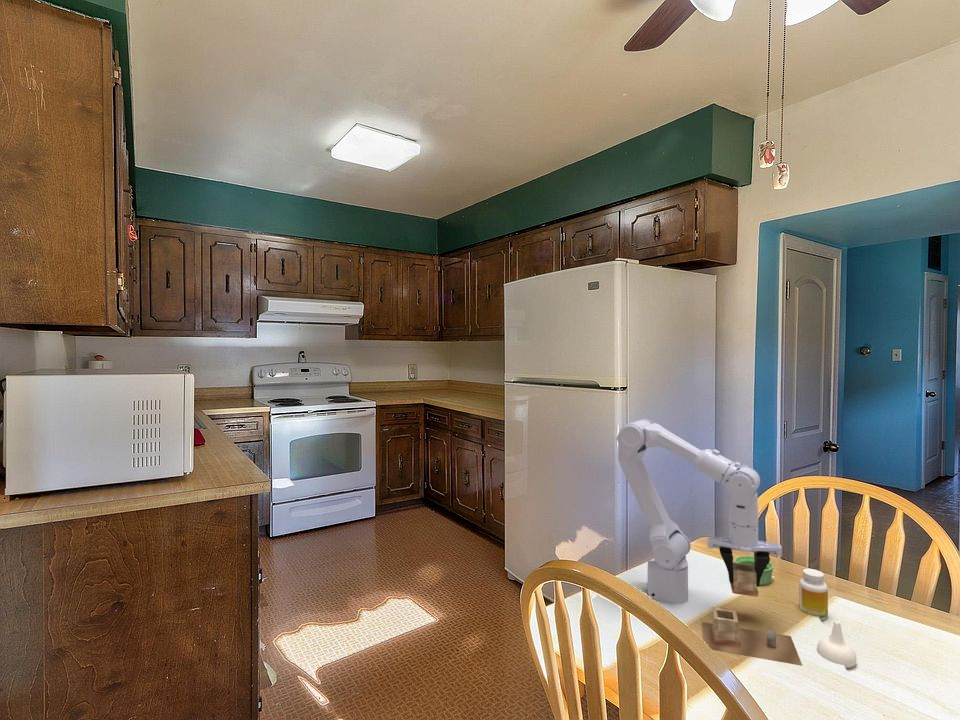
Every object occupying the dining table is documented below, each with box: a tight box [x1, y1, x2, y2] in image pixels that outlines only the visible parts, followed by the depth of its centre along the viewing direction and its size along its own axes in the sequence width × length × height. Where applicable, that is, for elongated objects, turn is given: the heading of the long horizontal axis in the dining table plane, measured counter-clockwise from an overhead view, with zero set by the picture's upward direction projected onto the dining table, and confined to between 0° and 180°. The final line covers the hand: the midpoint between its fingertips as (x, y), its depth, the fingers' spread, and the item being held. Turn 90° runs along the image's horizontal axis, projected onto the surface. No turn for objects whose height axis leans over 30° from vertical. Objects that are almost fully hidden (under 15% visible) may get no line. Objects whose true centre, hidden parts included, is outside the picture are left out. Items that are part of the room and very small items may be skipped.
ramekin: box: [733, 554, 774, 587], centre depth 131 cm, size 9×9×4 cm
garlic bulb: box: [816, 619, 858, 669], centre depth 98 cm, size 6×6×8 cm
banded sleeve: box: [729, 561, 759, 598], centre depth 111 cm, size 5×5×5 cm
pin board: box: [701, 621, 803, 666], centre depth 103 cm, size 17×10×4 cm, turn 69°
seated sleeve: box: [711, 607, 740, 647], centre depth 104 cm, size 5×5×5 cm
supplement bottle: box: [798, 568, 829, 621], centre depth 114 cm, size 5×5×10 cm
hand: (743, 582), depth 111 cm, fingers closed on banded sleeve, 4 cm apart
